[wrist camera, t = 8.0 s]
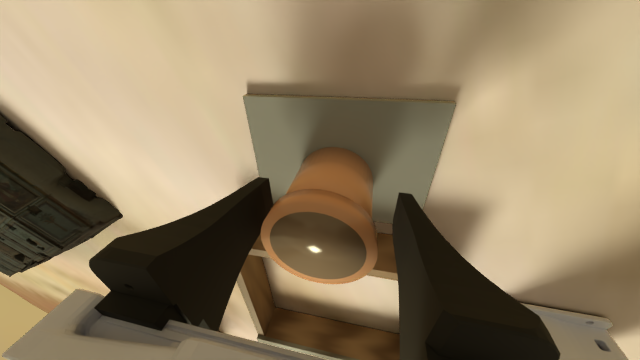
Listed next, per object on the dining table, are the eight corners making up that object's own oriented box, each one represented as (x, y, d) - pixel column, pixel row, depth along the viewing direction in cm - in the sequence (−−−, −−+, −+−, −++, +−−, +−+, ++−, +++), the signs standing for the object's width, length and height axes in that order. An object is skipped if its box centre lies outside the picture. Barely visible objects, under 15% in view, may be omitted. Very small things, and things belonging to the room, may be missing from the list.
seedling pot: (383, 146, 14) (387, 213, 9) (371, 216, 17) (369, 293, 12) (292, 139, 15) (250, 195, 10) (298, 206, 18) (268, 273, 13)
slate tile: (453, 101, 12) (456, 103, 12) (416, 222, 17) (417, 227, 17) (246, 94, 14) (242, 96, 14) (268, 203, 19) (265, 207, 19)
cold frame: (449, 242, 18) (464, 290, 14) (405, 339, 28) (408, 379, 24) (242, 213, 21) (218, 247, 18) (270, 309, 31) (258, 341, 28)
